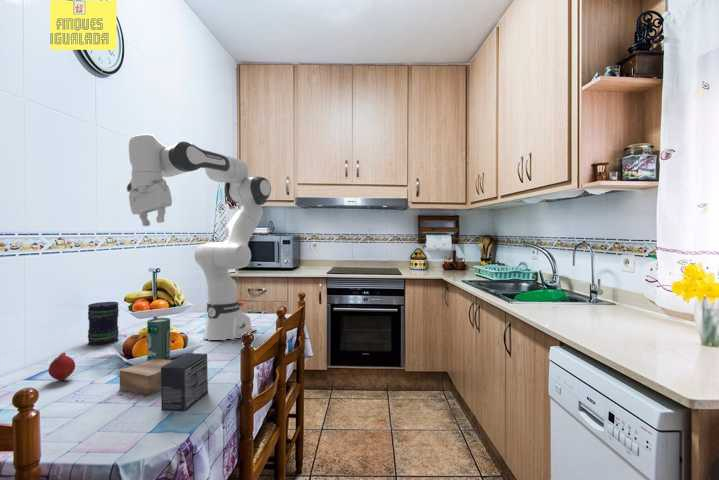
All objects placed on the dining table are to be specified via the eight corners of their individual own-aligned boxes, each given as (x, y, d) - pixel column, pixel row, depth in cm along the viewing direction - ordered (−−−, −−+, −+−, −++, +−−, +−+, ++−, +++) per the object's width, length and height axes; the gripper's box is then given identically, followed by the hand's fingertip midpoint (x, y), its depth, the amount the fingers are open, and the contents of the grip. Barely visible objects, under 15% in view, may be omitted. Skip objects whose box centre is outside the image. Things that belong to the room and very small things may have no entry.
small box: (185, 391, 96) (185, 352, 96) (209, 393, 95) (209, 353, 95) (159, 410, 86) (159, 365, 85) (185, 412, 85) (185, 367, 85)
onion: (59, 385, 100) (60, 356, 100) (43, 384, 101) (43, 355, 101) (80, 377, 105) (80, 350, 105) (63, 376, 106) (64, 349, 106)
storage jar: (91, 340, 144) (91, 302, 144) (121, 337, 148) (121, 301, 148) (84, 347, 135) (84, 307, 135) (115, 344, 139) (115, 305, 139)
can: (149, 366, 115) (149, 318, 115) (170, 363, 118) (170, 317, 118) (146, 372, 110) (146, 322, 110) (168, 369, 112) (169, 321, 112)
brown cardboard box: (156, 374, 108) (156, 357, 108) (183, 380, 104) (183, 362, 104) (119, 388, 98) (119, 370, 98) (148, 395, 93) (148, 376, 93)
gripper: (174, 177, 118) (179, 219, 118) (143, 189, 129) (148, 227, 129) (154, 175, 112) (160, 220, 112) (123, 188, 124) (129, 228, 124)
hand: (153, 224), depth 121 cm, fingers open, 8 cm apart
